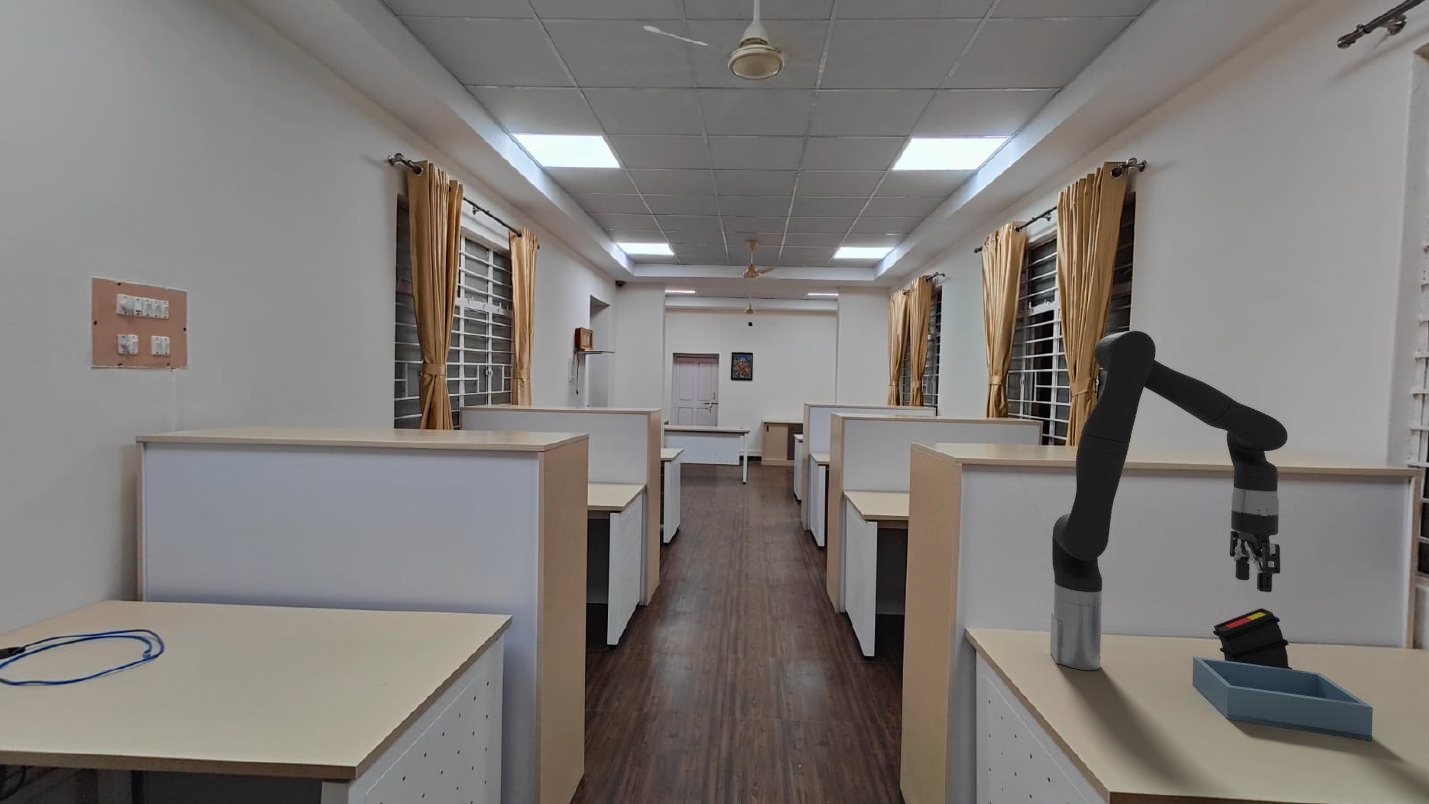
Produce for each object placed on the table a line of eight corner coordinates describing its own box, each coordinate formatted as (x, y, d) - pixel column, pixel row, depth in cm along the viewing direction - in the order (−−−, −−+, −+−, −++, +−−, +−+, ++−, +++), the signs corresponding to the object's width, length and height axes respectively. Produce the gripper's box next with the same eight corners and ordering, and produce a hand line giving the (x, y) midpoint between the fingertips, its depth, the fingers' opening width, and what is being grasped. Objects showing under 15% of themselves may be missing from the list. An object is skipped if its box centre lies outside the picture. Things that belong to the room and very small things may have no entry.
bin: (1226, 718, 111) (1227, 687, 111) (1192, 685, 124) (1193, 656, 124) (1371, 741, 104) (1372, 707, 104) (1319, 703, 118) (1319, 673, 118)
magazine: (1308, 678, 125) (1276, 612, 125) (1245, 701, 126) (1214, 636, 127) (1292, 670, 129) (1261, 606, 129) (1232, 692, 130) (1202, 629, 130)
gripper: (1216, 503, 135) (1215, 574, 136) (1251, 514, 122) (1249, 593, 122) (1257, 506, 133) (1256, 578, 133) (1297, 517, 120) (1295, 597, 120)
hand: (1253, 585), depth 128 cm, fingers open, 8 cm apart
